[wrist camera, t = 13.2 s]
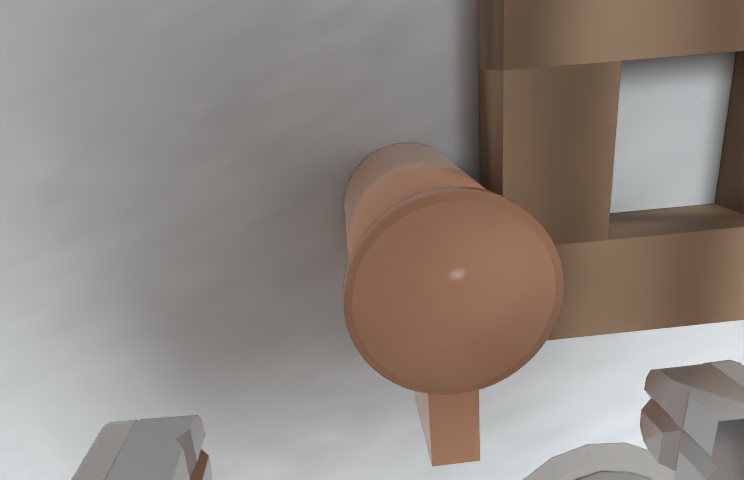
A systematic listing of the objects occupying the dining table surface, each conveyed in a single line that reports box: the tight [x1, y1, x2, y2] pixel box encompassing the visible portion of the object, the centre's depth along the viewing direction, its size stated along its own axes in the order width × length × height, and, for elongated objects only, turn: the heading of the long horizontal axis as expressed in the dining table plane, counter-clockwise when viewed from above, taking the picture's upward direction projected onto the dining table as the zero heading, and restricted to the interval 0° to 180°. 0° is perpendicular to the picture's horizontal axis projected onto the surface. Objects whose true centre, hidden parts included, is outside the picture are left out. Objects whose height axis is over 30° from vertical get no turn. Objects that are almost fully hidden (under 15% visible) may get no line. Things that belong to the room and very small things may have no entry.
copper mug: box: [343, 143, 564, 466], centre depth 17 cm, size 8×5×9 cm, turn 5°
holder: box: [478, 0, 744, 340], centre depth 20 cm, size 14×14×3 cm
